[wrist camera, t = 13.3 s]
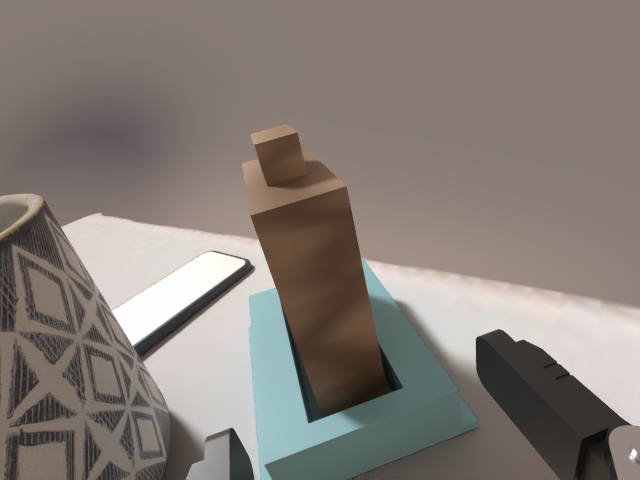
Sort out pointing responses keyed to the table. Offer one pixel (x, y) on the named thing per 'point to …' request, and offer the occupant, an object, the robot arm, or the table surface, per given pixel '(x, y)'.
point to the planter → (68, 365)
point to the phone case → (178, 298)
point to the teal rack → (356, 422)
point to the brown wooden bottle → (315, 268)
